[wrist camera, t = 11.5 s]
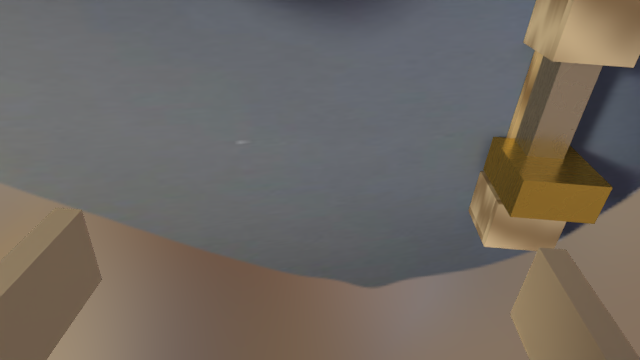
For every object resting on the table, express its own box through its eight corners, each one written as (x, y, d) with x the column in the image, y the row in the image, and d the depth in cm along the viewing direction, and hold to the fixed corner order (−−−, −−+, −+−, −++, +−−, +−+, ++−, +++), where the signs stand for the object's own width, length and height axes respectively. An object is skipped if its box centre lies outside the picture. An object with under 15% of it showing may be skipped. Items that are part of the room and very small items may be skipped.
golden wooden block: (531, 12, 34) (578, 34, 27) (617, 19, 34) (686, 42, 27) (471, 207, 44) (494, 259, 37) (537, 213, 44) (572, 265, 37)
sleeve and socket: (561, -96, 31) (604, -101, 26) (651, -90, 31) (712, -93, 26) (468, 210, 46) (484, 246, 40) (529, 215, 45) (552, 252, 40)
